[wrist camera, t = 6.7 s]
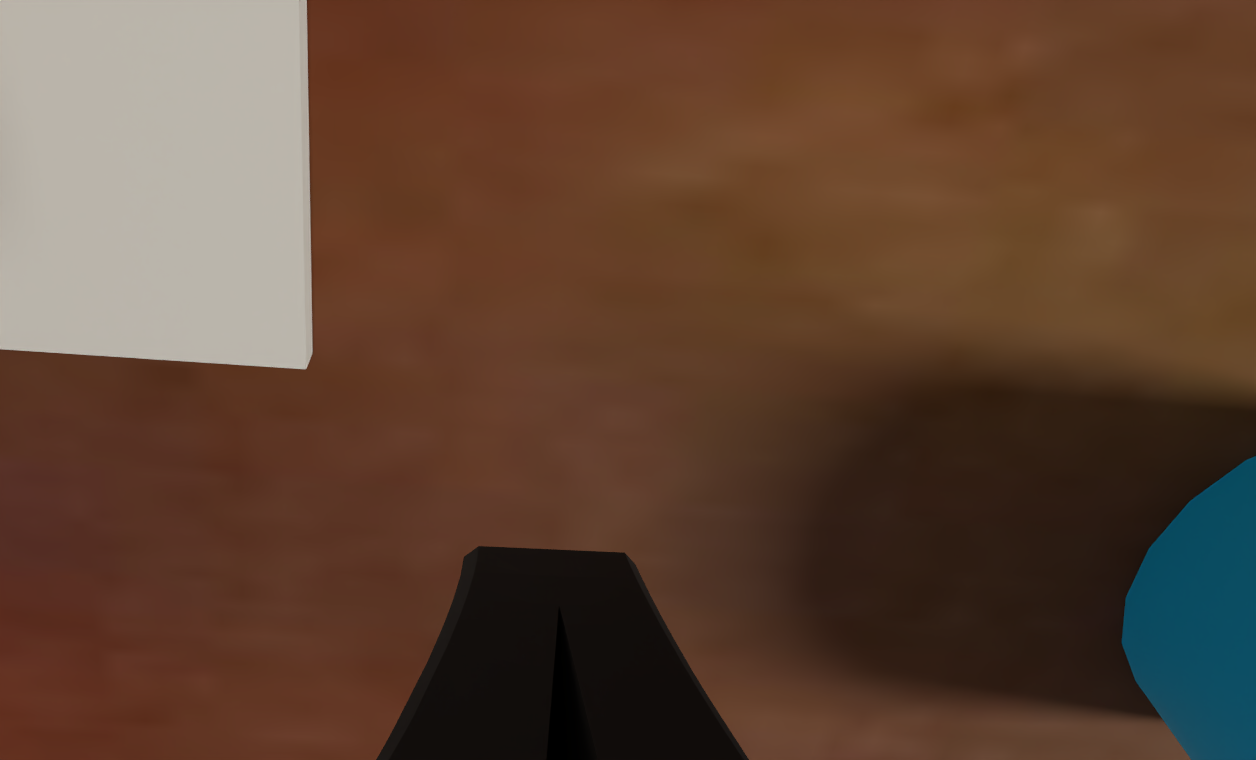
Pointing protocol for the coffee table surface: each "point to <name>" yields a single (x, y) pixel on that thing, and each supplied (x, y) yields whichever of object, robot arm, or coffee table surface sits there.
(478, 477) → the coffee table surface
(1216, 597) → the mug
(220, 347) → the push mat
